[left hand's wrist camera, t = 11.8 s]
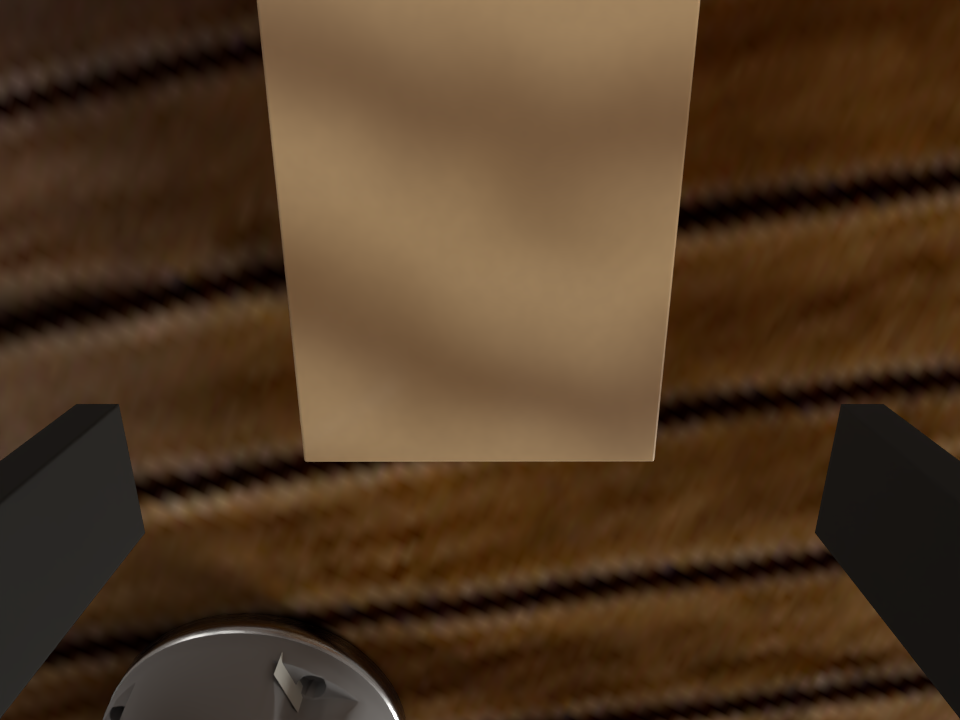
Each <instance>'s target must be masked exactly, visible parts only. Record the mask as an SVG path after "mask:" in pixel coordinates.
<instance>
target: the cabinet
mask: <svg viewBox="0 0 960 720" xmlns="http://www.w3.org/2000/svg"><path fill="white" fill-rule="evenodd" d="M699 7H700V0H257V8H258V17H259V27H260V37H261V46H262V56H263V65H264V75H265V85H266V94H267V104H268V114H269V123H270V133H271V142H272V152H273V162H274V171H275V181H276V190H277V200H278V210H279V219H280V229H281V239H282V248H283V258H284V267H285V277H286V287H287V296H288V306H289V316H290V325H291V335H292V344H293V354H294V364H295V373H296V383H297V393H298V402H299V412H300V421H301V431H302V441H303V450H304V459H305V461H307V462H364V461H654V457H655V447H656V437H657V427H658V417H659V407H660V397H661V387H662V377H663V367H664V357H665V347H666V337H667V327H668V317H669V307H670V297H671V287H672V277H673V267H674V257H675V247H676V237H677V227H678V217H679V207H680V197H681V187H682V177H683V167H684V157H685V147H686V137H687V127H688V117H689V107H690V97H691V87H692V77H693V67H694V57H695V47H696V37H697V27H698V17H699Z"/></svg>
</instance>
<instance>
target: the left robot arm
mask: <svg viewBox="0 0 960 720" xmlns="http://www.w3.org/2000/svg"><path fill="white" fill-rule="evenodd" d="M144 533H145V530H144V525H143V520H142V515H141V511H140V506H139V501H138V496H137V491H136V486H135V481H134V476H133V472H132V467H131V462H130V457H129V452H128V447H127V442H126V437H125V432H124V428H123V423H122V418H121V413H120V408H119V404H76V405H75V406H73V407H72V408H71V409H69V410H68V411H67V412H65V413H64V414H63V415H61V416H60V417H59V418H57V419H56V420H55V421H53V422H52V423H51V424H49V425H48V426H47V427H45V428H44V429H43V430H41V431H40V432H39V433H37V434H36V435H35V436H33V437H32V438H31V439H29V440H28V441H27V442H25V443H24V444H23V445H21V446H20V447H19V448H17V449H16V450H15V451H13V452H12V453H10V454H9V455H8V456H6V457H5V458H4V459H2V460H1V461H0V718H1V717H2V715H3V714H4V713H5V712H6V710H7V709H8V708H9V706H10V705H11V704H12V703H13V701H14V700H15V699H16V697H17V696H18V695H19V694H20V692H21V691H22V690H23V688H24V687H25V686H26V685H27V683H28V682H29V681H30V680H31V678H32V677H33V676H34V674H35V673H36V672H37V671H38V669H39V668H40V667H41V665H42V664H43V663H44V662H45V660H46V659H47V658H48V656H49V655H50V654H51V653H52V651H53V650H54V649H55V647H56V646H57V645H58V644H59V642H60V641H61V640H62V638H63V637H64V636H65V635H66V633H67V632H68V631H69V630H70V628H71V627H72V626H73V624H74V623H75V622H76V621H77V619H78V618H79V617H80V615H81V614H82V613H83V612H84V610H85V609H86V608H87V606H88V605H89V604H90V603H91V601H92V600H93V599H94V597H95V596H96V595H97V594H98V592H99V591H100V590H101V588H102V587H103V586H104V585H105V583H106V582H107V581H108V580H109V578H110V577H111V576H112V574H113V573H114V572H115V571H116V569H117V568H118V567H119V565H120V564H121V563H122V562H123V560H124V559H125V558H126V556H127V555H128V554H129V553H130V551H131V550H132V549H133V547H134V546H135V545H136V544H137V542H138V541H139V540H140V538H141V537H142V536H143V535H144ZM815 533H816V535H817V536H818V537H819V538H820V540H821V541H822V542H823V544H824V545H825V546H826V547H827V549H828V550H829V551H830V553H831V554H832V555H833V556H834V558H835V559H836V560H837V562H838V563H839V564H840V565H841V567H842V568H843V569H844V571H845V572H846V573H847V574H848V576H849V577H850V578H851V580H852V581H853V582H854V583H855V585H856V586H857V587H858V588H859V590H860V591H861V592H862V594H863V595H864V596H865V597H866V599H867V600H868V601H869V603H870V604H871V605H872V606H873V608H874V609H875V610H876V612H877V613H878V614H879V615H880V617H881V618H882V619H883V621H884V622H885V623H886V624H887V626H888V627H889V628H890V630H891V631H892V632H893V633H894V635H895V636H896V637H897V638H898V640H899V641H900V642H901V644H902V645H903V646H904V647H905V649H906V650H907V651H908V653H909V654H910V655H911V656H912V658H913V659H914V660H915V662H916V663H917V664H918V665H919V667H920V668H921V669H922V671H923V672H924V673H925V674H926V676H927V677H928V678H929V680H930V681H931V682H932V683H933V685H934V686H935V687H936V688H937V690H938V691H939V692H940V694H941V695H942V696H943V697H944V699H945V700H946V701H947V703H948V704H949V705H950V706H951V708H952V709H953V710H954V712H955V713H956V714H957V715H958V717H959V718H960V461H959V460H958V459H956V458H955V457H954V456H952V455H951V454H950V453H948V452H947V451H945V450H944V449H943V448H941V447H940V446H939V445H937V444H936V443H935V442H933V441H932V440H931V439H929V438H928V437H927V436H925V435H924V434H923V433H921V432H920V431H919V430H917V429H916V428H915V427H913V426H912V425H911V424H909V423H908V422H907V421H905V420H904V419H903V418H901V417H900V416H899V415H897V414H896V413H895V412H893V411H892V410H891V409H889V408H888V407H887V406H885V405H884V404H841V408H840V413H839V418H838V423H837V428H836V432H835V437H834V442H833V447H832V452H831V457H830V462H829V467H828V472H827V476H826V481H825V486H824V491H823V496H822V501H821V506H820V511H819V515H818V520H817V525H816V530H815ZM103 720H406V719H405V715H404V711H403V707H402V704H401V702H400V699H399V697H398V695H397V693H396V691H395V689H394V687H393V686H392V684H391V683H390V681H389V680H388V678H387V677H386V676H385V674H384V673H383V672H382V671H381V670H380V669H379V667H378V666H377V665H376V664H375V663H374V662H373V661H372V660H371V659H369V658H368V657H367V656H366V655H365V654H364V653H362V652H361V651H360V650H359V649H357V648H356V647H354V646H353V645H351V644H350V643H348V642H347V641H345V640H343V639H341V638H340V637H338V636H336V635H334V634H332V633H330V632H328V631H326V630H323V629H321V628H319V627H316V626H313V625H310V624H307V623H305V622H301V621H297V620H293V619H290V618H284V617H279V616H273V615H264V614H228V615H220V616H213V617H209V618H204V619H200V620H197V621H193V622H190V623H187V624H185V625H182V626H180V627H177V628H175V629H173V630H171V631H169V632H167V633H166V634H164V635H162V636H161V637H159V638H158V639H156V640H155V641H153V642H152V643H151V644H150V645H149V646H147V647H146V648H145V649H144V650H143V651H142V652H141V653H140V654H139V655H138V656H137V658H136V659H135V660H134V661H133V663H132V664H131V666H130V667H129V669H128V670H127V672H126V673H125V675H124V677H123V678H122V680H121V682H120V683H119V685H118V686H117V688H116V690H115V692H114V694H113V696H112V698H111V701H110V703H109V705H108V707H107V710H106V712H105V715H104V718H103Z"/></svg>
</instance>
